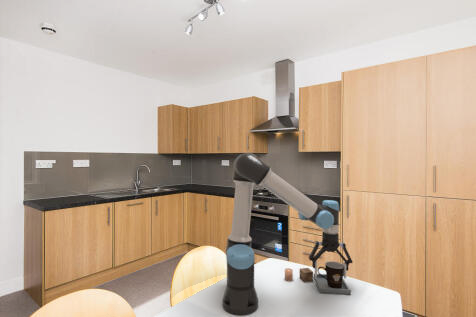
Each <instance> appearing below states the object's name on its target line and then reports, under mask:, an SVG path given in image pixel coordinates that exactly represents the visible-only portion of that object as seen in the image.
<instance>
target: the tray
mask: <svg viewBox="0 0 476 317" xmlns="http://www.w3.org/2000/svg"><path fill="white" fill-rule="evenodd" d="M320 274H321V275H323V276H324V277H325V278H327V275H326V274H325V273H320ZM320 274H319V273H317V276H315V274H314V273H313V281H314V282H315V285H316V287H317V290H318V292H319V294H324V295H325V294H327V295H338V296H339V295H343V296H345V295H346V296H351V295H352V294H351V293H352V292H351V288H350V287H349V285H348V284H347V282H346V281H345V278H343V280H342V288H340V289H335V288H331V287H329V286H328V284H327V280H326V279H325V278H323V277H322V276H321V275H320Z"/></svg>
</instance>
